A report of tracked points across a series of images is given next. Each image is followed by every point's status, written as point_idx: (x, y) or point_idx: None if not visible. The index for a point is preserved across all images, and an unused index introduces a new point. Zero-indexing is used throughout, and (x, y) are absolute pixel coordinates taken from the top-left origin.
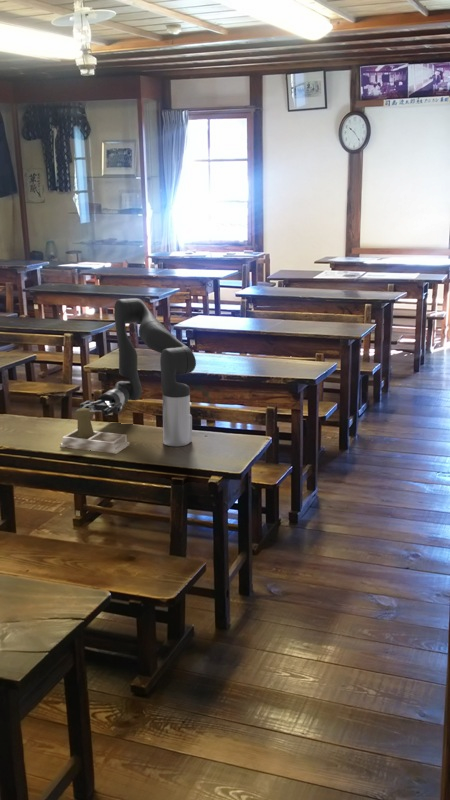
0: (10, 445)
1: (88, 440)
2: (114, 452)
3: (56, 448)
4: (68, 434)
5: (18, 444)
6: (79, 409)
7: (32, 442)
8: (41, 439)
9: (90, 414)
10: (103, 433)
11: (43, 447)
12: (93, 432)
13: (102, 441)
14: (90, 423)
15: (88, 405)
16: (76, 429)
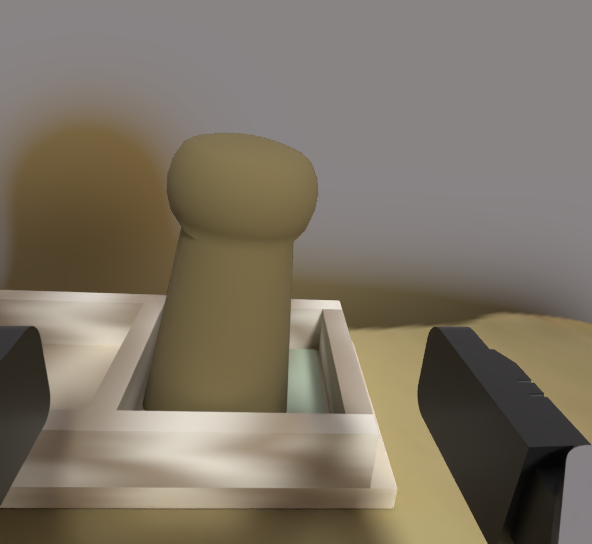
0: (584, 327)
1: (152, 295)
2: None
3: (351, 340)
4: (340, 334)
5: (573, 341)
6: (265, 138)
7: (555, 374)
8: (579, 424)
9: (168, 196)
10: (62, 412)
11: (424, 338)
12: (154, 362)
13: (49, 295)
14: (171, 274)
15: (561, 510)
16: (374, 428)
